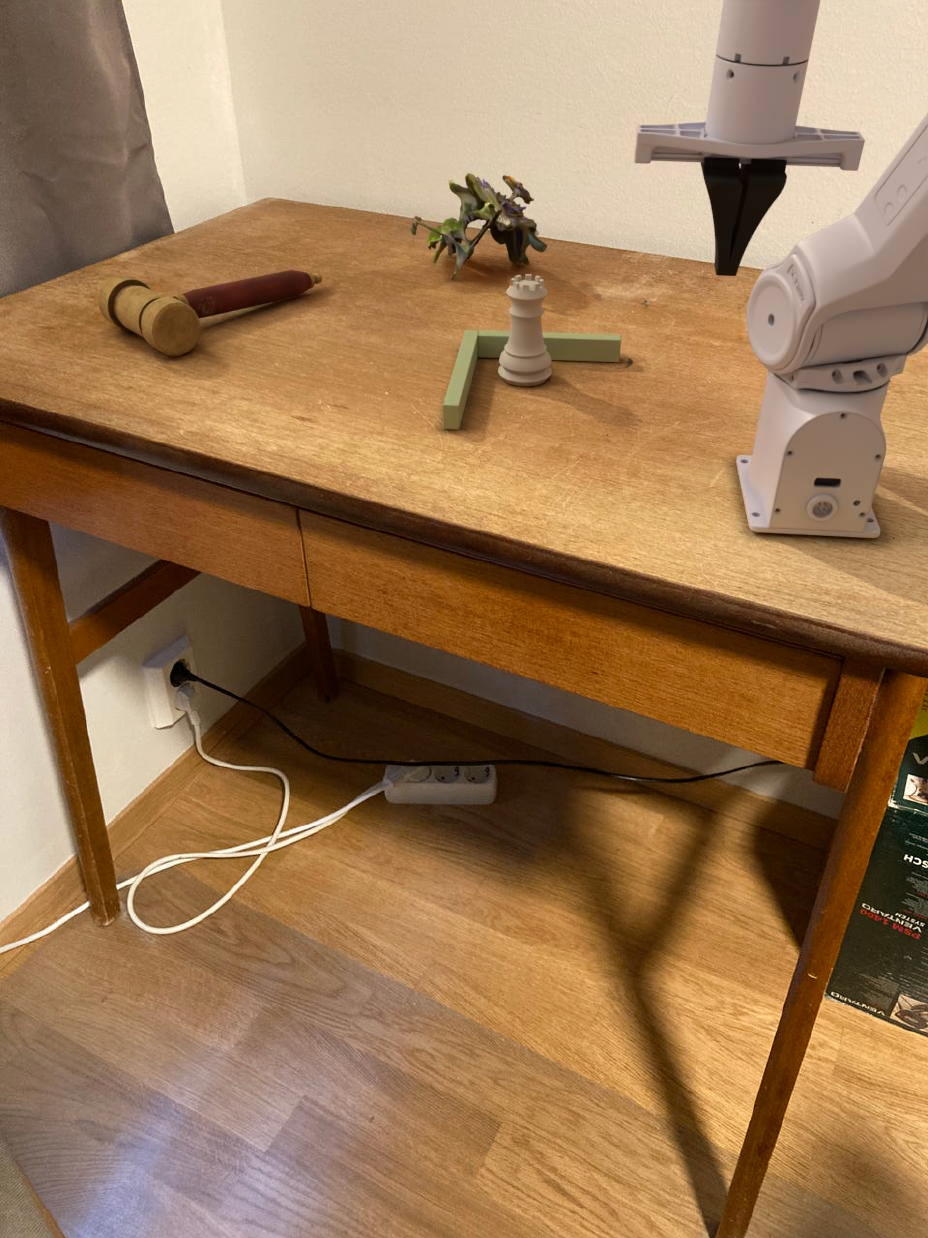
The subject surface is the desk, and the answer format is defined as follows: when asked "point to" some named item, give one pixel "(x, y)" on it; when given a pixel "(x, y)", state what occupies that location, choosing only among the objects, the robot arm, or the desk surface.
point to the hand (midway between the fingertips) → (725, 270)
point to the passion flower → (499, 218)
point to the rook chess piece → (525, 335)
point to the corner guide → (493, 346)
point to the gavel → (191, 305)
